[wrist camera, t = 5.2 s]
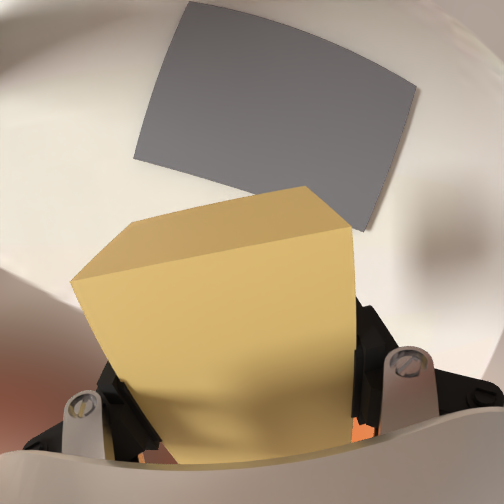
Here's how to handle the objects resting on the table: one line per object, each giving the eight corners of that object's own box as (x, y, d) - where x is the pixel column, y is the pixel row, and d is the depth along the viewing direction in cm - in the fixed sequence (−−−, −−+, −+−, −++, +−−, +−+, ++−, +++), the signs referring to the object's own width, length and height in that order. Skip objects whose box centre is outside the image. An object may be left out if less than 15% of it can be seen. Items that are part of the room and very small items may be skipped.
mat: (135, 157, 23) (133, 158, 22) (190, 3, 18) (189, 1, 18) (361, 230, 26) (363, 232, 25) (413, 87, 21) (416, 86, 20)
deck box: (131, 222, 10) (69, 281, 6) (305, 185, 10) (351, 226, 6) (201, 401, 13) (192, 480, 9) (326, 381, 13) (349, 460, 9)
